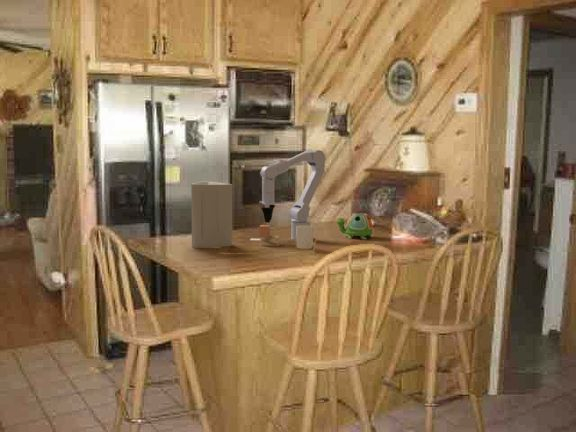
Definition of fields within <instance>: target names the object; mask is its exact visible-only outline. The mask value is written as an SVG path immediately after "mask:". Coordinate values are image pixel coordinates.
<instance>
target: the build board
mask: <svg viewBox="0 0 576 432" xmlns="http://www.w3.org/2000/svg"><path fill="white" fill-rule="evenodd" d="M249 241H260V238H255V237H254V238H252V237H251V238H250V239H249ZM265 246H270V247H275V246H274V245H265ZM279 246H280V244H279V245H278V246H277V247H279Z"/></svg>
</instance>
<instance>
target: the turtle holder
mask: <svg viewBox="0 0 576 432" xmlns="http://www.w3.org/2000/svg"><path fill="white" fill-rule="evenodd" d="M345 222H346V221H345V218H343V217H338V218H337V221H336V223H337V225H338V229H339V231H340V232H341V233H342V234H345V235H347V236H348V237H347V238H348V239H351V240H352V239H353V237H357V236H359V238H360V240H367V238H372V237H373V236H372V235H373V234H374V233H373V229H374V227H373V226H374V225H373V222H372V218H370V217H369V215H368V214H367V213H363V212H362V213H361V212H359V213H358V212H355V213H352V215H350V216H349V218H347V222H346V223H345ZM345 224H346V225H345ZM344 225H345V226H344ZM352 236H353V237H352ZM365 236H366V237H365Z"/></svg>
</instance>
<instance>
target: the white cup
mask: <svg viewBox="0 0 576 432" xmlns="http://www.w3.org/2000/svg"><path fill="white" fill-rule="evenodd" d="M314 229H315V228H314V225H310V226H309V225H299V226H296V240H295V241H296V248H298V249H301V250H304V249H305V250H309V249H313V243H314V232H315V231H314Z"/></svg>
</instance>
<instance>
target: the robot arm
mask: <svg viewBox="0 0 576 432" xmlns="http://www.w3.org/2000/svg"><path fill="white" fill-rule="evenodd" d="M326 160H327V157H326V155H325V152H324V151H323V150H321V149H308V150H305V151H302V152H301V153H299V154H296V155H295V156H292V157H290V158H288V159H282V158H281V159H280V158H279V159H278V160H277V161H276V162H274V163H269V166H268V165H265V166H263V167H262V168H261V170H260V171H259V175H260V177H261V192H262V193H261V196H262V197H261V200H259V204H262V205H263V206H261V207H260V208H261V211H262V214H263V218H264V223H270V222H271V221H272V217H273V212H274V209H275V207H276V204H275V203H276V201H275V179H276V177H277V176H279V175H281V174H283V173H286V172H287V171H289V169H290V167H292V166H295V165H297V164H298V165H299V164H300V163H302V162H306V163H308V165H309V166H310V168H311V173H310V176H309V177H308V179H307V182H306V183H305V187H304V188H303V190H302V193H301V195H300V197H299V199H298V200H297V201H296V202H295V203H294V205H293V206H292V207H291V208H290V209H289V213H288V214H289V218H291V219H290V222H291V224H290V233H291V234H290V237H291V238H290V239H292V240H295V241H296V226H299V225H309V226H311V221H308V218H309V216H310V210H311V206H310V204H311V201H312V199H313V197H314V195H315V192H317V189H318V186H319V184H320V182H321V180H322V177H323V176H324V173H325V171H326V170H325V169H326Z"/></svg>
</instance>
